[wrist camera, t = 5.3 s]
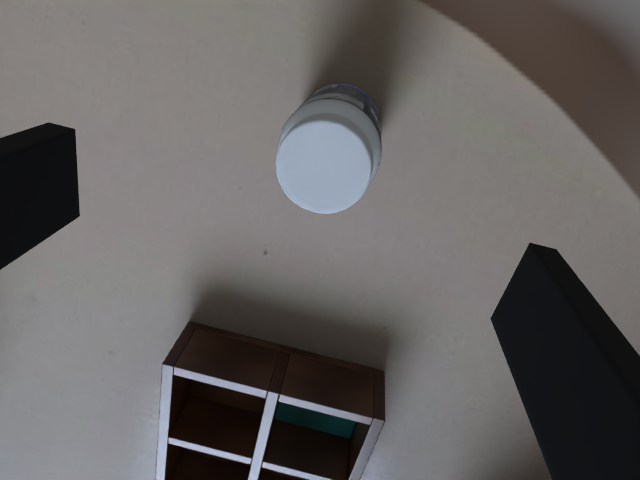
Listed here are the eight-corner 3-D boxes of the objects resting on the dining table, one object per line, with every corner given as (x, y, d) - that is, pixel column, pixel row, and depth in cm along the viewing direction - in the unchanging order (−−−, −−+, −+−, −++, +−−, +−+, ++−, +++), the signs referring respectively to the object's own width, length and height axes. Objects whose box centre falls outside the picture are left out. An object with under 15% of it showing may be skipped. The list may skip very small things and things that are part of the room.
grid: (384, 371, 33) (385, 420, 29) (320, 532, 44) (314, 585, 39) (188, 321, 33) (162, 363, 29) (172, 494, 44) (151, 543, 40)
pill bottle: (373, 170, 26) (371, 231, 18) (296, 159, 26) (263, 215, 19) (387, 87, 24) (391, 118, 16) (303, 76, 24) (268, 102, 17)
